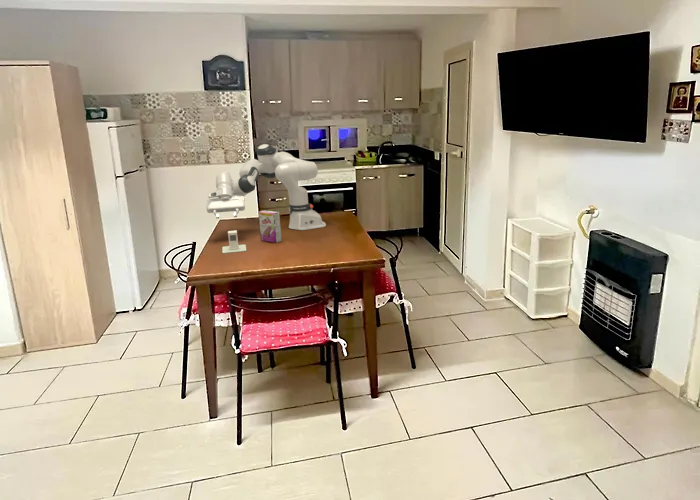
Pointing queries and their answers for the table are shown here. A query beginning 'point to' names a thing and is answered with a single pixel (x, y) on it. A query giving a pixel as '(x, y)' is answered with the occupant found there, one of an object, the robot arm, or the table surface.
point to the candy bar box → (270, 226)
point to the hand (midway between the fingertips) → (226, 217)
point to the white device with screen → (233, 240)
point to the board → (227, 250)
